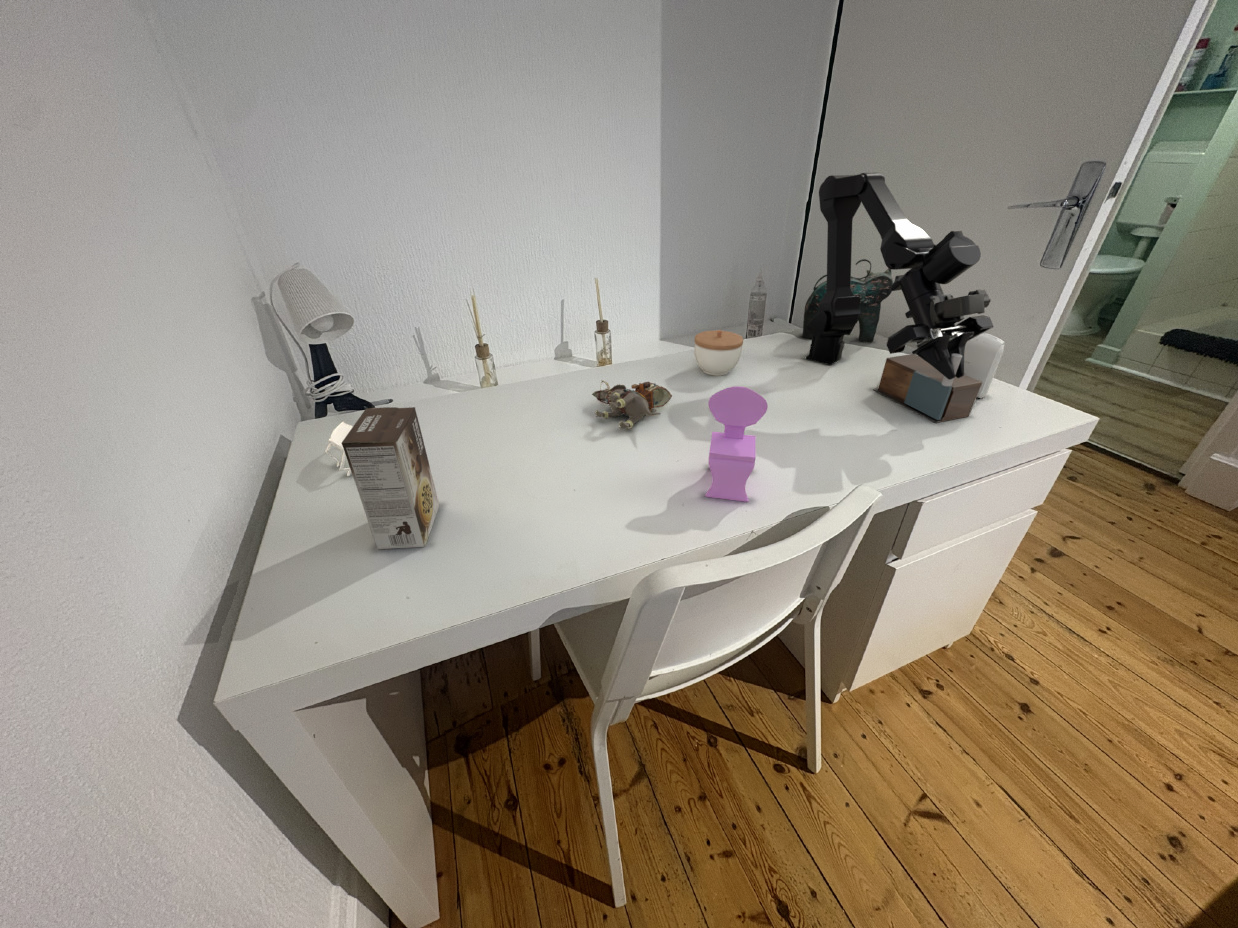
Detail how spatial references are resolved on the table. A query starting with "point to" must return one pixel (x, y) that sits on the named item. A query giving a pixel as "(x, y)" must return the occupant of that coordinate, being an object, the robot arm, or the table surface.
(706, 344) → the trinket box
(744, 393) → the toy chair
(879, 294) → the dark green sculpted piece
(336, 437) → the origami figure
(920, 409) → the sliding door
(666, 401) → the figurine
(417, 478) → the brown food box
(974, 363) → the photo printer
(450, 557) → the table surface
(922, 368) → the cabinet
